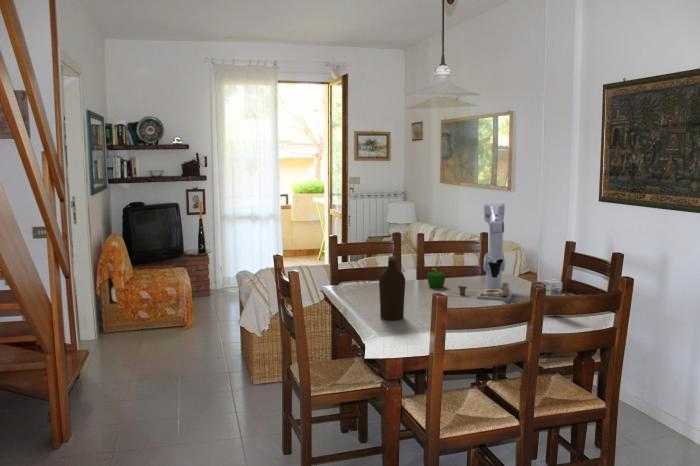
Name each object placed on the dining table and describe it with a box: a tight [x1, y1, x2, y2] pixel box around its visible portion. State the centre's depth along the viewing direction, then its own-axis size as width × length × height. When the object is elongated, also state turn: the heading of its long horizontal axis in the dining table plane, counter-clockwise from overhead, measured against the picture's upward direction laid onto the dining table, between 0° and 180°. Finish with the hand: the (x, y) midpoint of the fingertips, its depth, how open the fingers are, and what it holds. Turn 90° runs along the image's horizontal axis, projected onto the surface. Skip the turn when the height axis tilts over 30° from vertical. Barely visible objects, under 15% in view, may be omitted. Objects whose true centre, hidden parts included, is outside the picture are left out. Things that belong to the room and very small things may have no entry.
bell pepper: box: [427, 267, 446, 289], centre depth 305 cm, size 8×8×10 cm
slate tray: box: [476, 289, 513, 304], centre depth 285 cm, size 14×14×2 cm
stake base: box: [447, 285, 479, 299], centre depth 289 cm, size 12×12×5 cm
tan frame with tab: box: [481, 282, 510, 298], centre depth 284 cm, size 12×9×6 cm
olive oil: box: [378, 255, 406, 321], centre depth 250 cm, size 11×11×25 cm
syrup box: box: [542, 278, 563, 296], centre depth 254 cm, size 6×6×14 cm
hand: (495, 275), depth 288 cm, fingers open, 7 cm apart
